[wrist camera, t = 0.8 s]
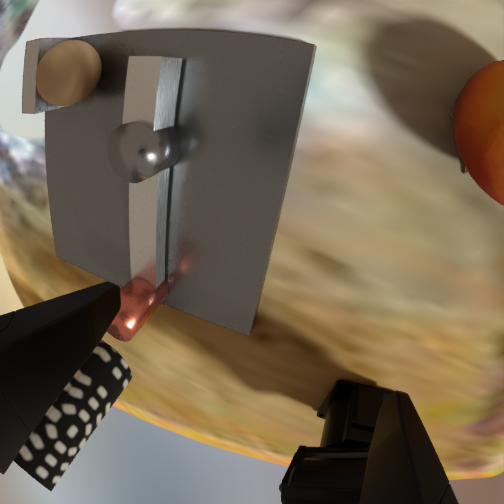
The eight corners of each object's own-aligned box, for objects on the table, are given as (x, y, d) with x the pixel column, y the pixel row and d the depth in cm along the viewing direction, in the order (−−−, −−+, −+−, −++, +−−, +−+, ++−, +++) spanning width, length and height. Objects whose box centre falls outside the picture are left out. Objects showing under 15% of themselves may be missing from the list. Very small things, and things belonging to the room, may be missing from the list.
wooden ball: (112, 103, 20) (62, 112, 16) (69, 100, 21) (21, 111, 17) (119, 38, 17) (68, 35, 13) (74, 43, 18) (25, 45, 14)
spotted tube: (105, 379, 42) (31, 475, 25) (74, 336, 39) (-14, 434, 22) (142, 384, 38) (63, 500, 21) (108, 337, 35) (8, 456, 18)
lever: (142, 57, 17) (83, 56, 13) (192, 59, 17) (138, 54, 12) (135, 291, 28) (98, 329, 23) (171, 306, 27) (137, 348, 22)
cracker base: (252, 328, 27) (235, 365, 23) (63, 252, 31) (34, 272, 27) (316, 46, 16) (305, 33, 12) (58, 41, 19) (19, 43, 16)
